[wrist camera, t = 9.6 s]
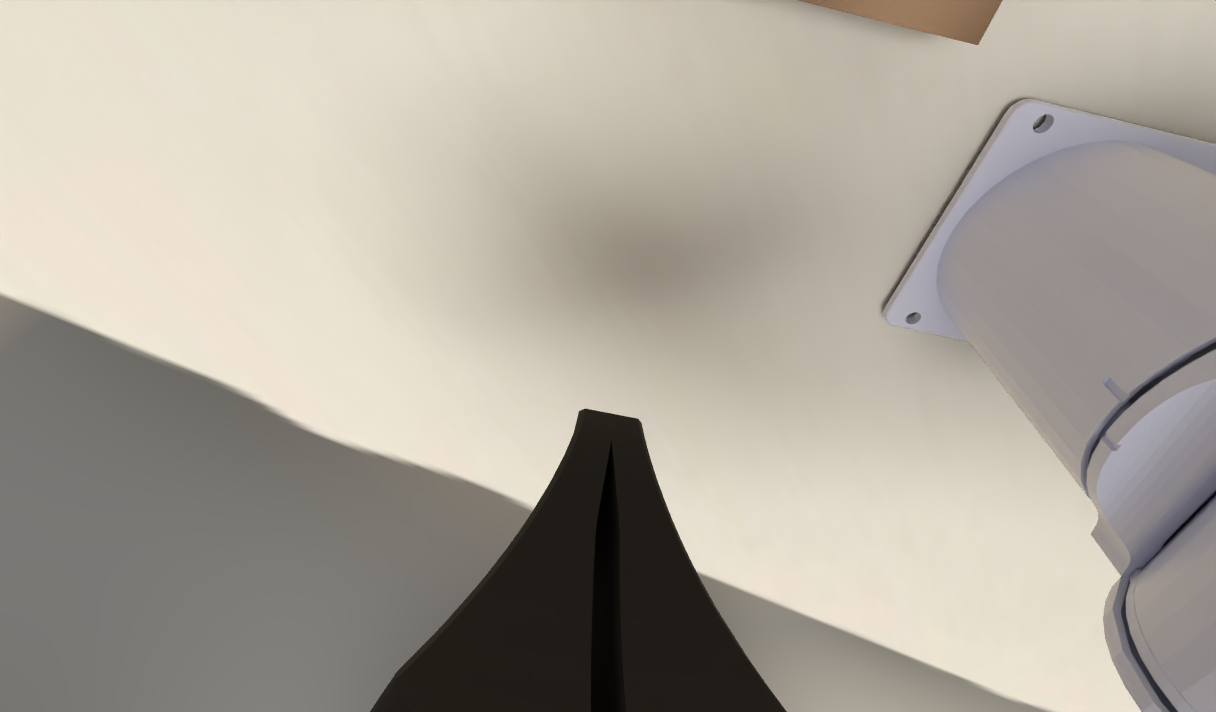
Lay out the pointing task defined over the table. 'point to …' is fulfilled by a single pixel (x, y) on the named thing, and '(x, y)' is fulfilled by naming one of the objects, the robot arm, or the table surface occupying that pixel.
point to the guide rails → (925, 15)
